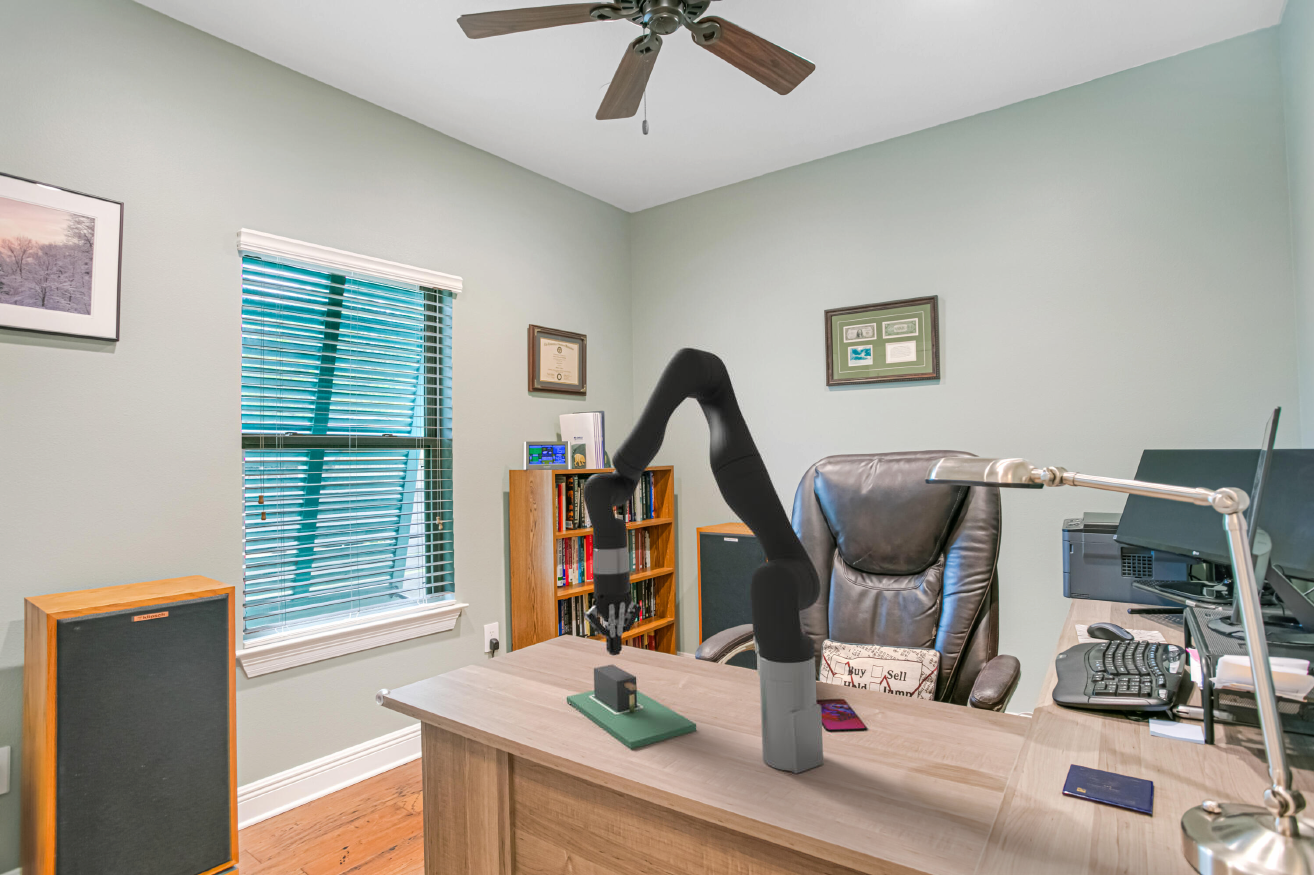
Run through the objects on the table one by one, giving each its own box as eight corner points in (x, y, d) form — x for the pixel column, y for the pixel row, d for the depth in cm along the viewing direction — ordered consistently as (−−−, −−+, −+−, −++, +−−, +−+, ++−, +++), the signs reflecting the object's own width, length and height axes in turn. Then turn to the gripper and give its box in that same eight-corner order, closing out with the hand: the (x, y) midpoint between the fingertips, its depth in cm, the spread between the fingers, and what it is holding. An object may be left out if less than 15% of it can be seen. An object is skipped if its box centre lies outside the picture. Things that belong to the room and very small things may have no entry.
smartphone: (826, 729, 121) (806, 699, 136) (826, 734, 121) (806, 704, 136) (868, 728, 121) (844, 698, 136) (868, 733, 121) (844, 702, 136)
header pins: (635, 712, 130) (635, 694, 130) (631, 713, 130) (630, 695, 130) (601, 691, 143) (601, 674, 143) (597, 692, 143) (596, 675, 143)
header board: (696, 730, 124) (696, 723, 124) (630, 749, 117) (630, 741, 117) (624, 688, 148) (624, 682, 148) (566, 702, 140) (566, 696, 140)
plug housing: (644, 711, 131) (643, 680, 131) (625, 716, 128) (624, 685, 129) (613, 692, 142) (612, 664, 142) (594, 696, 140) (593, 668, 140)
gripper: (590, 575, 131) (593, 664, 130) (647, 567, 138) (651, 652, 137) (574, 571, 137) (577, 656, 136) (630, 564, 144) (633, 644, 143)
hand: (614, 654), depth 137 cm, fingers closed
